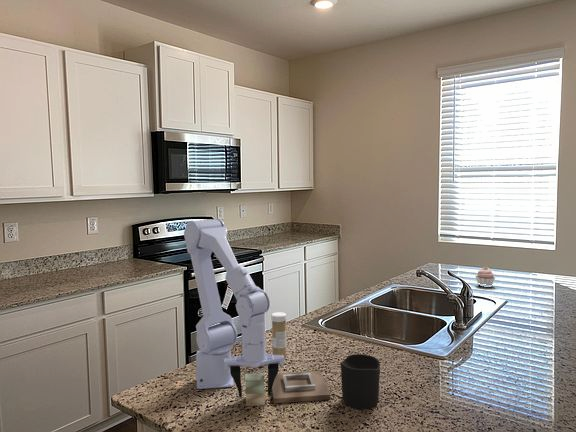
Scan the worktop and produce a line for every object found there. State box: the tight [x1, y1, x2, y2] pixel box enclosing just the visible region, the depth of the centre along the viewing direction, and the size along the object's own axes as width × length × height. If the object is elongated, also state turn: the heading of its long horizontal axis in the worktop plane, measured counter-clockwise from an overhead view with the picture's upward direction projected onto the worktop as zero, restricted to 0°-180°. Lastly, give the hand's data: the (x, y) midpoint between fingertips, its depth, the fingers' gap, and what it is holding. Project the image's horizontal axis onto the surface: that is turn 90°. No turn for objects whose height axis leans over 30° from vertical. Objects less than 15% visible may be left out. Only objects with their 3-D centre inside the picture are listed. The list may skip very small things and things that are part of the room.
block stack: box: [244, 372, 266, 407], centre depth 111 cm, size 4×4×6 cm
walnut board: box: [271, 370, 331, 404], centre depth 117 cm, size 14×14×2 cm
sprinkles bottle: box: [271, 311, 288, 359], centre depth 138 cm, size 5×5×14 cm
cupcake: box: [475, 266, 496, 286], centre depth 222 cm, size 9×9×10 cm
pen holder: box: [340, 353, 381, 410], centre depth 109 cm, size 9×9×10 cm
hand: (255, 394), depth 111 cm, fingers open, 6 cm apart
